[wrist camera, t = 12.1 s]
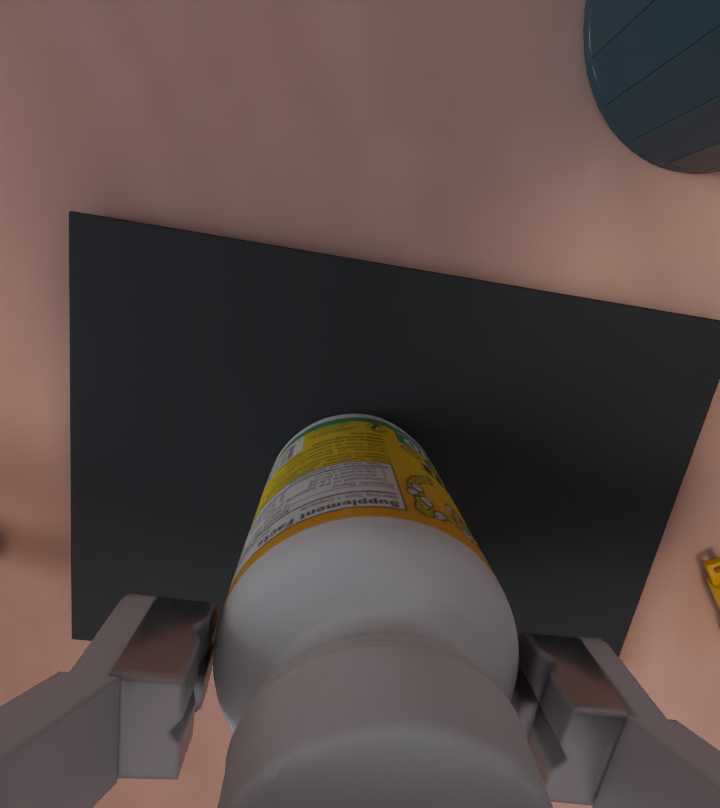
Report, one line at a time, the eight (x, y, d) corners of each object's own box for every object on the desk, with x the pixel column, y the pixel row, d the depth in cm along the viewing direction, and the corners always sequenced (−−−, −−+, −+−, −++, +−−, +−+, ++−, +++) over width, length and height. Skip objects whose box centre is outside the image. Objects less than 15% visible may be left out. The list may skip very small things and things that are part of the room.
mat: (84, 215, 12) (68, 210, 12) (718, 322, 14) (741, 323, 13) (84, 622, 16) (71, 640, 15) (596, 667, 17) (609, 685, 17)
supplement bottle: (252, 427, 13) (62, 732, 4) (422, 395, 13) (616, 625, 4) (290, 574, 15) (213, 1054, 5) (443, 545, 15) (627, 972, 5)
